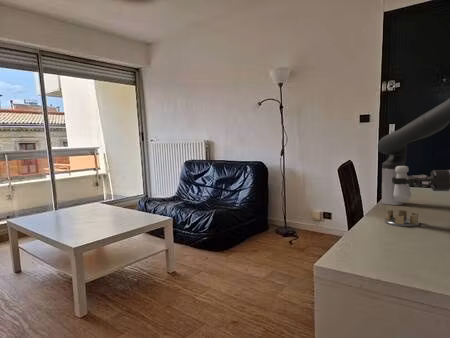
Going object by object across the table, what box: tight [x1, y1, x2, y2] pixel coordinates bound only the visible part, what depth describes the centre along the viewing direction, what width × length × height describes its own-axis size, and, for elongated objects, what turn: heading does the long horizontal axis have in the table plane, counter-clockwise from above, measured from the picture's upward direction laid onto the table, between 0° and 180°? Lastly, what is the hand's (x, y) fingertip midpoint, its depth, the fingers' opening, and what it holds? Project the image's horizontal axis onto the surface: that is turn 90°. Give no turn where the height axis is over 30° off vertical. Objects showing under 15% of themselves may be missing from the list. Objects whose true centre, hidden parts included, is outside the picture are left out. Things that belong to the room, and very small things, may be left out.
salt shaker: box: [393, 165, 412, 203], centre depth 111 cm, size 6×6×13 cm
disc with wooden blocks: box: [384, 209, 420, 228], centre depth 112 cm, size 11×11×4 cm
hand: (393, 180), depth 112 cm, fingers closed on salt shaker, 3 cm apart
